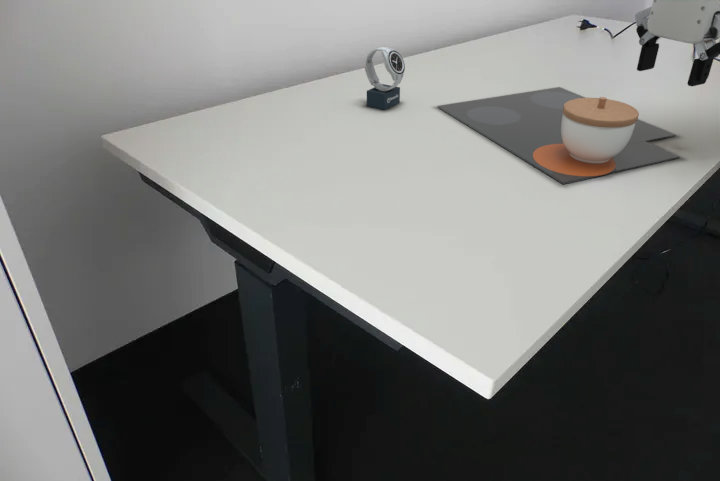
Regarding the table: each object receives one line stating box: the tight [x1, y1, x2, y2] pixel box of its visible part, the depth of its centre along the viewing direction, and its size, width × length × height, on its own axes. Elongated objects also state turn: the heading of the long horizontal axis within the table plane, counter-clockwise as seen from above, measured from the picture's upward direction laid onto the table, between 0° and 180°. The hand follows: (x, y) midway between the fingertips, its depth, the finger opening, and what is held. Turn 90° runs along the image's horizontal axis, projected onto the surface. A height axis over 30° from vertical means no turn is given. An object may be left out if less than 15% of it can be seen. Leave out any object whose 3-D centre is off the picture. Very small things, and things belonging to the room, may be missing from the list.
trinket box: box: [561, 96, 640, 164], centre depth 83 cm, size 11×11×9 cm
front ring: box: [533, 144, 616, 177], centre depth 85 cm, size 12×12×1 cm
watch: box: [364, 46, 406, 111], centre depth 106 cm, size 6×8×11 cm
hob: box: [437, 86, 681, 185], centre depth 97 cm, size 30×37×1 cm
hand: (669, 76), depth 86 cm, fingers open, 9 cm apart
